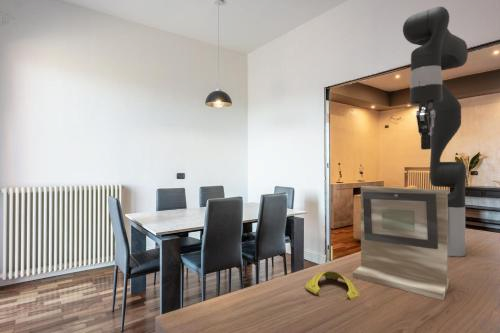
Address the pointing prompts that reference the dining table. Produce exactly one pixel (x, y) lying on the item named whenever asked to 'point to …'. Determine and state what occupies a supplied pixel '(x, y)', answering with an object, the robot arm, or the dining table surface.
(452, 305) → the dining table surface
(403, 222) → the picture frame
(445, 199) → the wall board stand
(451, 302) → the dining table surface
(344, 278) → the yellow horseshoe piece
